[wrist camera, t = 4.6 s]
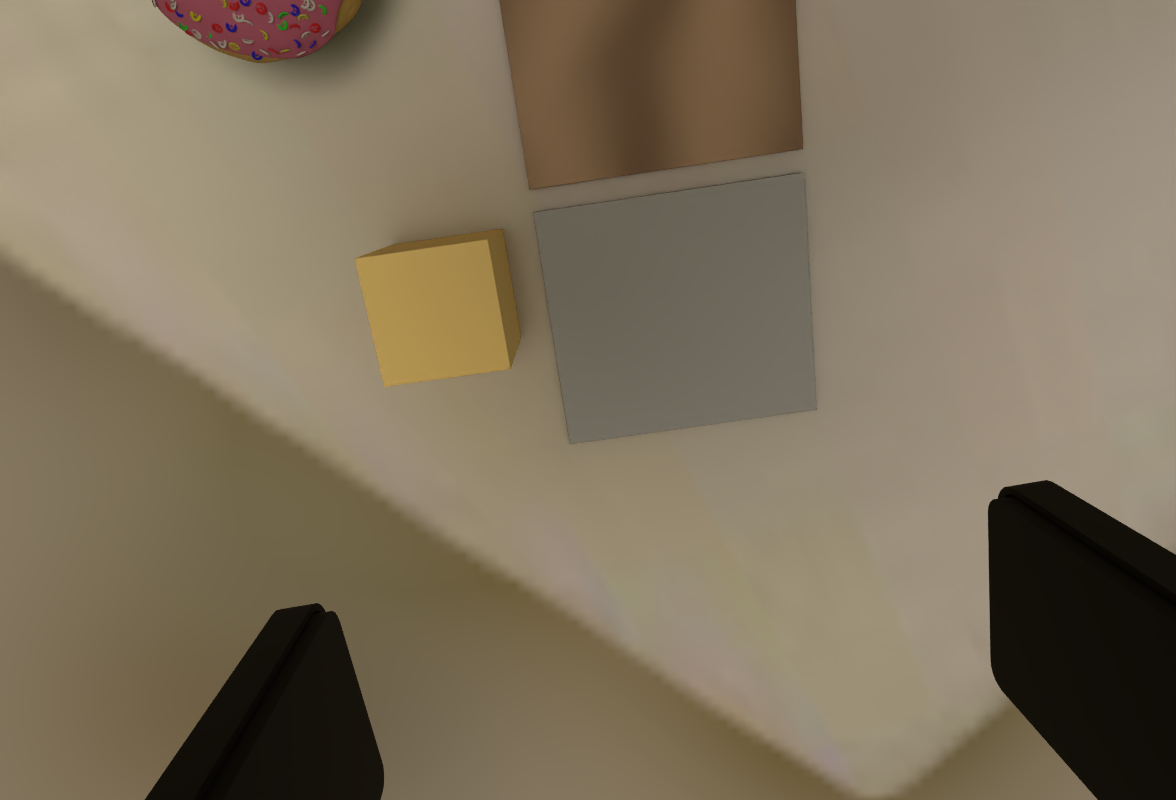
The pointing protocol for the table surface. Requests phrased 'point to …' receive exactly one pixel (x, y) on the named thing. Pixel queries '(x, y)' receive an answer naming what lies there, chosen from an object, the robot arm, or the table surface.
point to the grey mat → (681, 307)
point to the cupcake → (261, 25)
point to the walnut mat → (651, 84)
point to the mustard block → (441, 307)
